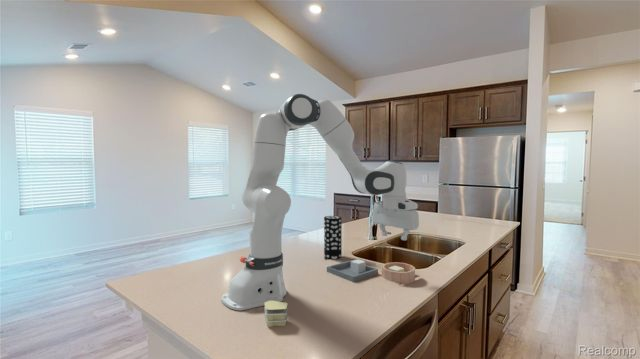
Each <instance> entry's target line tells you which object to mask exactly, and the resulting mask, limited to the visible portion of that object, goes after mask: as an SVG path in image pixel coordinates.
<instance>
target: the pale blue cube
mask: <svg viewBox="0 0 640 359" xmlns="http://www.w3.org/2000/svg"><path fill="white" fill-rule="evenodd" d="M366 263H367V262H366V261H364V260H361V259H353V260H352V261H351V271H353V272H356V273H361V272H364V271H366V265H367V264H366Z"/></svg>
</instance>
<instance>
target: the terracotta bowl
mask: <svg viewBox="0 0 640 359" xmlns="http://www.w3.org/2000/svg"><path fill="white" fill-rule="evenodd" d="M382 264H383V265H382V266H381V277H382V278H383V279H384V280H385V281H390V282H393V283H394V282H395V283H399V285H410V284H413V283H415V281H416V267H415V266H414V265H412V264H409V263H405V262H396V261H395V262H387V263H382ZM392 266H398V267H402V268H404V272H395V271H390V270H388V268H389V267H392Z"/></svg>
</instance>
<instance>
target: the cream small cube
mask: <svg viewBox="0 0 640 359" xmlns="http://www.w3.org/2000/svg"><path fill="white" fill-rule="evenodd" d="M388 270H390V271H395V272H404V268H402V267H398V266H392V267H389V268H388Z"/></svg>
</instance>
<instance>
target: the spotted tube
mask: <svg viewBox="0 0 640 359" xmlns="http://www.w3.org/2000/svg"><path fill="white" fill-rule="evenodd" d="M342 218H343V217H342V216H339V215H326V216H324V217H323V226H324V227H323V239H324V241H323V243H324V244H323V252H324V253H323V256H324V257H323V258H324V259H323V260H325V261H329V260H339V259H342V254H343V252H342V250H343V249H342V243H343V240H342V239H343V238H342V236H343V235H342V234H343V233H342V232H343V231H342Z"/></svg>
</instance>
